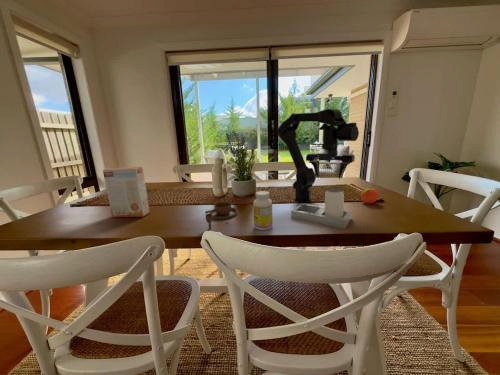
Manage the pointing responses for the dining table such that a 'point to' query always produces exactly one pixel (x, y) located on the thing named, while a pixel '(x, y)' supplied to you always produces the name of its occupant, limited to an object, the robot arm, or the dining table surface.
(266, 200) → the supplement bottle
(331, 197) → the can
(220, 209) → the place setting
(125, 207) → the cracker box
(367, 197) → the clementine
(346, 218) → the grey compartment tray
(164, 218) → the dining table surface
